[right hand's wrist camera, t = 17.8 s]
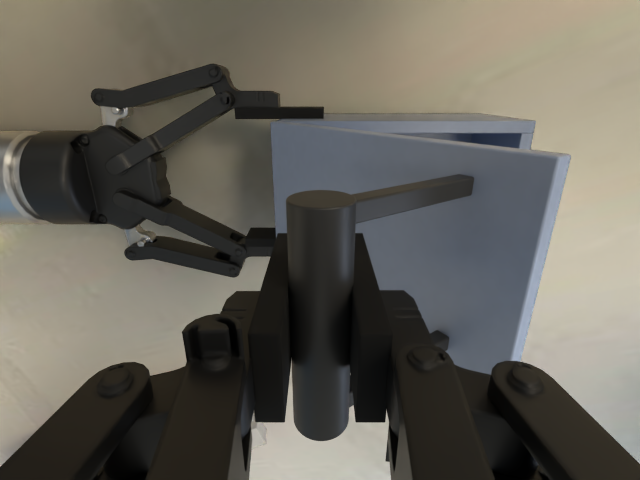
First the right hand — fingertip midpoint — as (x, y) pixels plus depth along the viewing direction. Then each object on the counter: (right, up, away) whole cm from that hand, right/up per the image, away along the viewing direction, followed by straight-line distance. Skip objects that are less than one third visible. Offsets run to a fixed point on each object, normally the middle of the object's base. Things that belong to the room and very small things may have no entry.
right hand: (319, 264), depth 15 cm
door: (+2, +2, +5) cm, 6 cm away
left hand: (0, +6, +15) cm, 16 cm away
